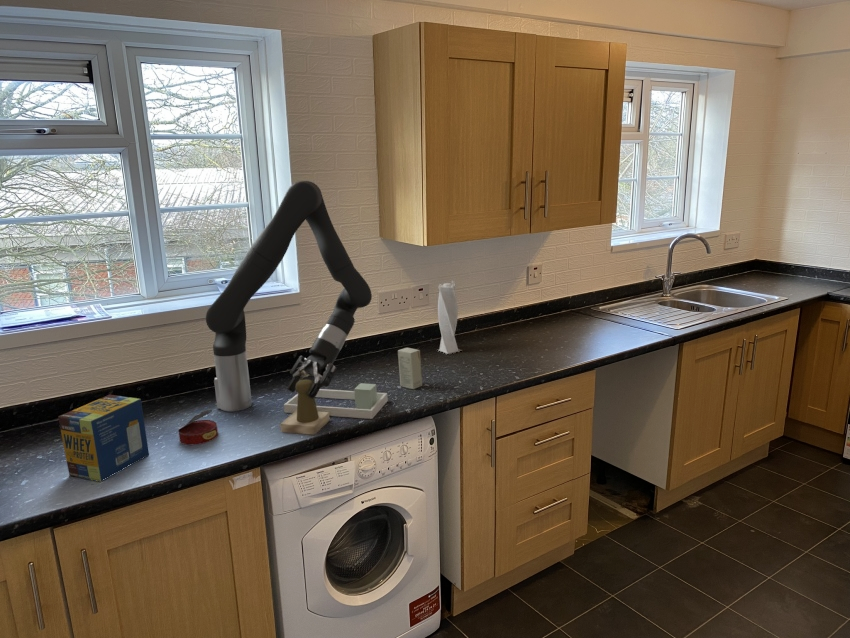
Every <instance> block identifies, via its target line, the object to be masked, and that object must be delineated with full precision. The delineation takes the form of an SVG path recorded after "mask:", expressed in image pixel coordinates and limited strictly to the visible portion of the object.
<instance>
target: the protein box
mask: <svg viewBox="0 0 850 638" xmlns="http://www.w3.org/2000/svg"><path fill="white" fill-rule="evenodd" d="M142 404H143V403H142V399H141V398H137V397H129V396H122V395H114V394H108V395H106V396H103V397H101V398H98V399H96V400H93V401H91V402H89V403H87V404H84V405H82V406H80V407H78V408H74V409H73V410H70V411H68V412H66V413H63V414H61V415H58V416H57V417H58V422H59V428H60V433H61V439H62V445H63V448H64V454H65V459H66V467H67V470H68V476H70V477H73V476H75V477H74V478H78V477H80V478H79V479H83V478H85V479H84V480H88V479H91V480H90V481H93V480H97V481H96V482H98V481H102V480H103V479H105V478H107V477H109V476H110V475H112V474H114V473H116V472H118V471H120V470H121V471H123V470H124V469H123V468H125V467H127V466H128V465H130V464H132V463H134V462H136V461H137V462H139V461H140V459H141V460H142V458H143V457H144V458H146V457H148V456H149V455H150V452H149V446H148V445H149V444H148V440H147V439H148V438H147V432H146V431H147V430H146V425H145V419H144V414H143V411H144V410H143V406H142ZM147 455H148V456H147ZM145 456H146V457H145ZM144 458H143V459H144ZM138 460H139V461H138ZM137 462H136V463H137ZM134 464H135V463H134ZM132 465H133V464H132ZM130 466H131V465H130ZM128 467H129V466H128ZM128 467H127V468H128ZM122 469H123V470H122ZM125 469H126V468H125ZM121 471H120V472H121ZM118 473H119V472H118ZM116 474H117V473H116ZM114 475H115V474H114ZM109 478H110V477H109ZM107 479H108V478H107ZM105 480H106V479H105ZM102 482H103V481H102Z"/></svg>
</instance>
